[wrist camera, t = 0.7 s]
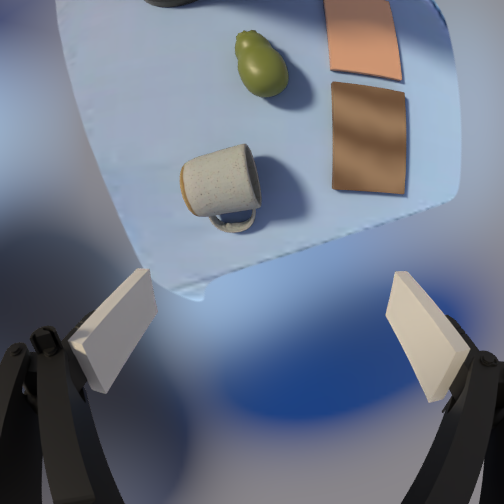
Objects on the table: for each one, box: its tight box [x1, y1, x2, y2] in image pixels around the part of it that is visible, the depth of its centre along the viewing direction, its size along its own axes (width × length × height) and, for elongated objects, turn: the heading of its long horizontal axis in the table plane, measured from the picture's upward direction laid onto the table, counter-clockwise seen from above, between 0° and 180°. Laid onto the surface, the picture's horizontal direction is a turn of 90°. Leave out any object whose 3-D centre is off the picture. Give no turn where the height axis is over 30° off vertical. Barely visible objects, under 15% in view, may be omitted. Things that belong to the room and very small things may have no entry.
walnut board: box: [331, 82, 406, 194], centre depth 31 cm, size 14×10×1 cm
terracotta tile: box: [323, 0, 402, 81], centre depth 25 cm, size 14×10×1 cm
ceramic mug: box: [180, 144, 261, 233], centre depth 32 cm, size 11×8×8 cm
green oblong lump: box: [235, 30, 288, 97], centre depth 27 cm, size 6×5×10 cm
